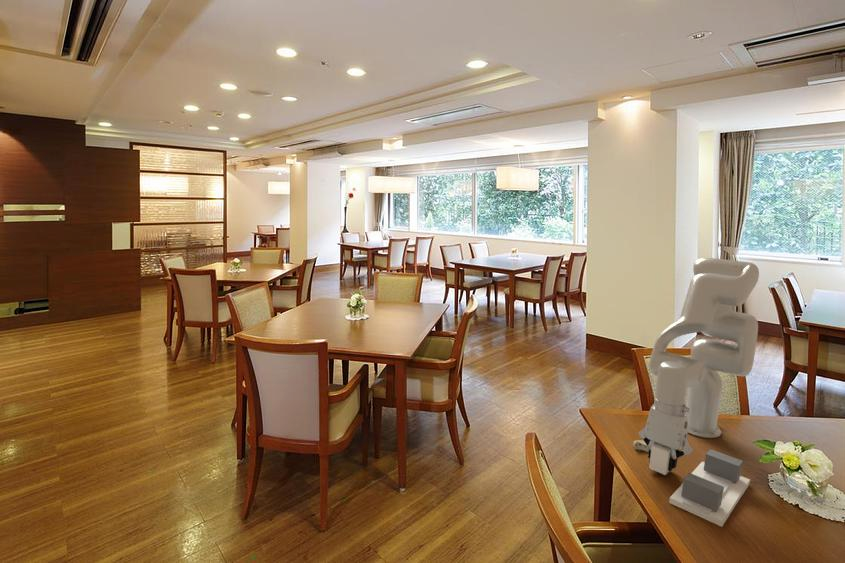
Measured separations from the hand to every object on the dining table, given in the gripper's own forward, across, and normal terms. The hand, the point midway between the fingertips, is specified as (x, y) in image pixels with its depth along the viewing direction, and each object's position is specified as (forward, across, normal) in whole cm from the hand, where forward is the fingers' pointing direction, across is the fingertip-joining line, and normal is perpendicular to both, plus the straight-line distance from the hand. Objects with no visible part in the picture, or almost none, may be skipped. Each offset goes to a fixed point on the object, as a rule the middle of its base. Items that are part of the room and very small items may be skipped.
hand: (661, 464), depth 137 cm
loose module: (+1, 0, 0) cm, 1 cm away
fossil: (+3, +6, -11) cm, 13 cm away
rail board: (+2, -13, +1) cm, 13 cm away
